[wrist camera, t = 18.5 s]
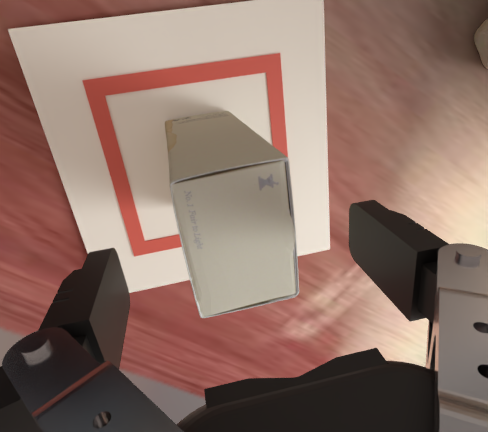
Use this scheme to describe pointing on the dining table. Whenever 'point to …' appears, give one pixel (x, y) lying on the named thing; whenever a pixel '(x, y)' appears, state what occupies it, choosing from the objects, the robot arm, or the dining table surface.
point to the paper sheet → (176, 114)
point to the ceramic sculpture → (482, 42)
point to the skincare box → (232, 213)
